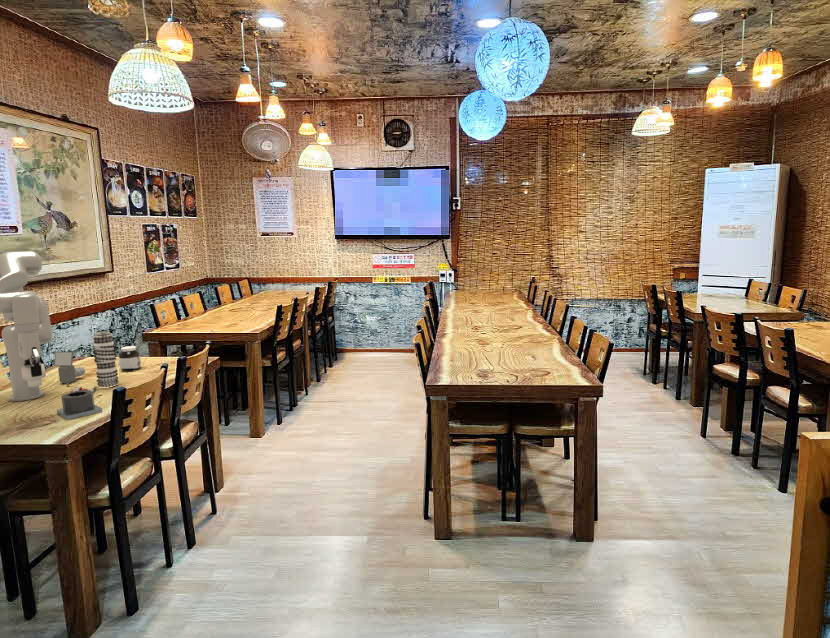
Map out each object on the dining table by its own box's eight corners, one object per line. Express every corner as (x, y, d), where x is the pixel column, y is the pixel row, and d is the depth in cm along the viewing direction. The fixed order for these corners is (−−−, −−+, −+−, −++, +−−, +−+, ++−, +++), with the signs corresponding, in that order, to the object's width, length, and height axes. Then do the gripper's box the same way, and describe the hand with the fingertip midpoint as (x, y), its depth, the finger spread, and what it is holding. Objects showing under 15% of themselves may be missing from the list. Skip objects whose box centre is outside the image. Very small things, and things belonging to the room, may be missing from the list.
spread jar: (132, 372, 277) (130, 349, 275) (111, 372, 278) (108, 349, 276) (145, 366, 288) (143, 344, 287) (125, 366, 289) (122, 344, 287)
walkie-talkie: (87, 402, 229) (98, 389, 248) (86, 392, 228) (97, 380, 247) (62, 405, 226) (76, 391, 245) (61, 394, 226) (75, 382, 244)
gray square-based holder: (57, 413, 214) (54, 394, 213) (90, 405, 223) (88, 387, 222) (67, 420, 206) (65, 400, 205) (102, 411, 215) (100, 393, 214)
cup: (21, 385, 207) (18, 365, 206) (43, 381, 212) (40, 361, 211) (26, 389, 202) (23, 368, 201) (49, 385, 208) (46, 364, 206)
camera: (90, 377, 268) (86, 347, 265) (73, 384, 256) (69, 352, 254) (73, 377, 269) (69, 347, 266) (55, 384, 257) (51, 352, 255)
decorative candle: (123, 383, 256) (118, 330, 252) (112, 388, 247) (106, 333, 243) (104, 383, 257) (98, 330, 253) (92, 389, 247) (86, 334, 243)
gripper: (8, 326, 207) (15, 372, 210) (22, 332, 195) (28, 380, 198) (32, 323, 212) (38, 368, 215) (46, 329, 201) (52, 376, 204)
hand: (33, 374), depth 207 cm, fingers closed on cup, 7 cm apart
